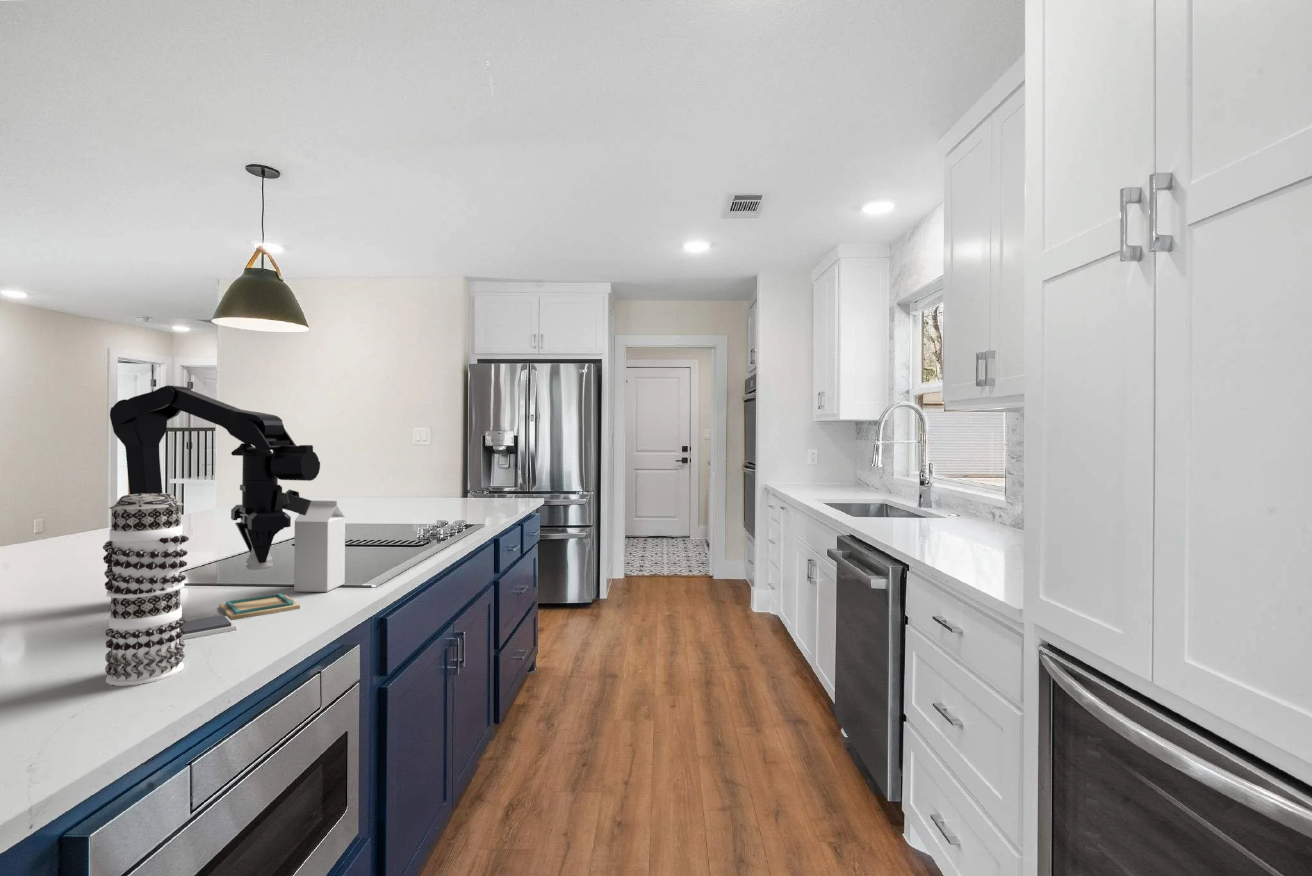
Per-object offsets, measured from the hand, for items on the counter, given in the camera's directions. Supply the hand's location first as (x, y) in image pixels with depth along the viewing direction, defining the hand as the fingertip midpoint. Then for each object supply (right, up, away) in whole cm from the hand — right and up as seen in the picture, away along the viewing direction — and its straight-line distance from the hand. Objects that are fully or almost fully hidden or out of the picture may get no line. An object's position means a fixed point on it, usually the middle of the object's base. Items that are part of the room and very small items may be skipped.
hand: (259, 560), depth 118 cm
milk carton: (+3, -9, +15) cm, 18 cm away
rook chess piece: (0, -2, 0) cm, 2 cm away
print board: (0, -9, 0) cm, 9 cm away
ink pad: (-1, -9, -13) cm, 16 cm away
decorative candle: (+5, -10, -32) cm, 34 cm away
